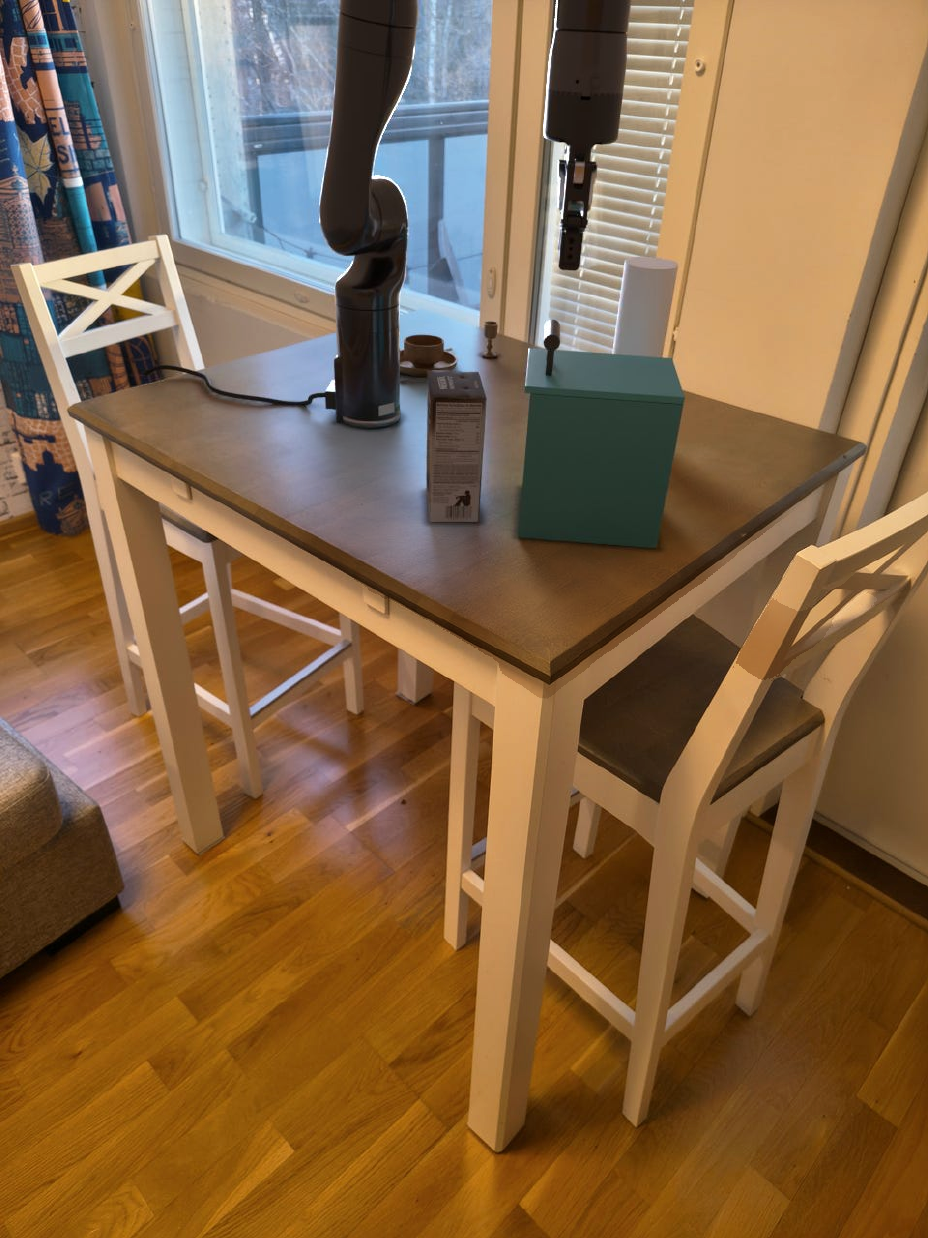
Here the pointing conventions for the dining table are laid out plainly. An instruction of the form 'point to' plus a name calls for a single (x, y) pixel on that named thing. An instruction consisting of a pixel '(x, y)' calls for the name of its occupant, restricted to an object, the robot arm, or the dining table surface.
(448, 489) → the coffee box
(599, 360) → the cool box lid
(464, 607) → the dining table surface
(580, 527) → the teal open box
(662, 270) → the cylindrical container
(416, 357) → the place setting
